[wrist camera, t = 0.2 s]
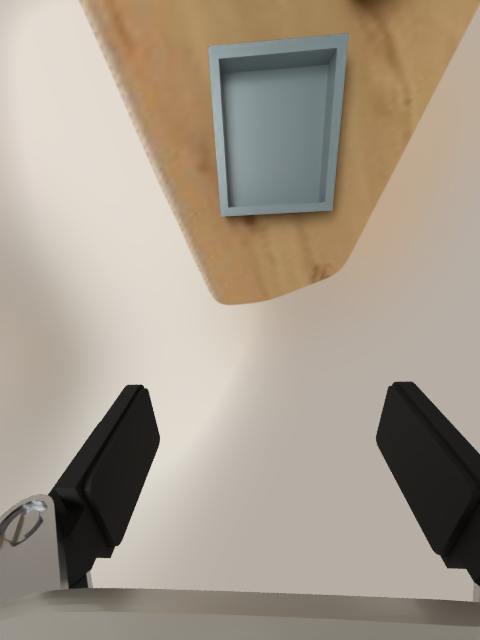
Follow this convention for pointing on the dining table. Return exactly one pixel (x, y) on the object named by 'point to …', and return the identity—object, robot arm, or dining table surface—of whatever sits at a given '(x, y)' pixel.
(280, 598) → the robot arm
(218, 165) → the walled box
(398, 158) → the dining table surface
